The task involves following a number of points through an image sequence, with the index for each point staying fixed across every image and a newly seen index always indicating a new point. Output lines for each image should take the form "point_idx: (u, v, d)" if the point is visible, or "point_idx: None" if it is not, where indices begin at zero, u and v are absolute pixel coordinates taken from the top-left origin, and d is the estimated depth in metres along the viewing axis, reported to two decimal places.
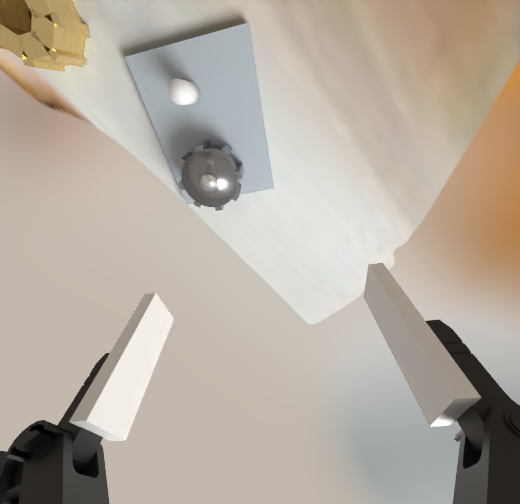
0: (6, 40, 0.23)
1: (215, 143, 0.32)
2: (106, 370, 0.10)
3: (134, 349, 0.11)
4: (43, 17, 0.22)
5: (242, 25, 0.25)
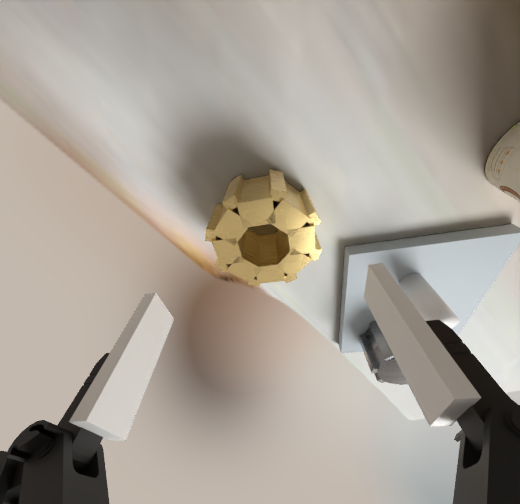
0: (240, 269, 0.18)
1: None
2: (106, 370, 0.10)
3: (134, 349, 0.11)
4: (302, 255, 0.17)
5: (517, 234, 0.20)
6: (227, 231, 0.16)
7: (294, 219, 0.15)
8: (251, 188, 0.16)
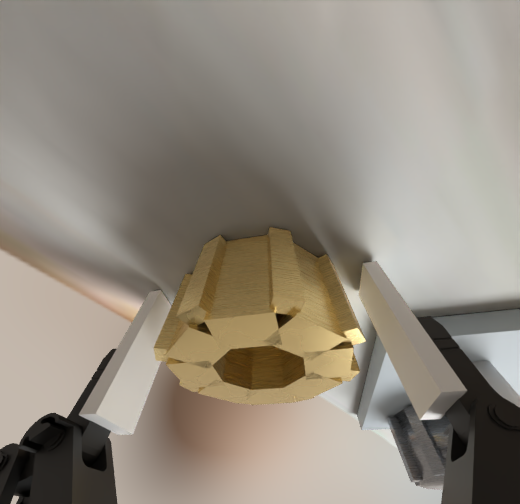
0: (221, 391, 0.11)
1: None
2: (114, 365, 0.10)
3: (141, 345, 0.11)
4: (326, 379, 0.10)
5: None
6: (192, 353, 0.09)
7: (317, 340, 0.08)
8: (236, 270, 0.09)
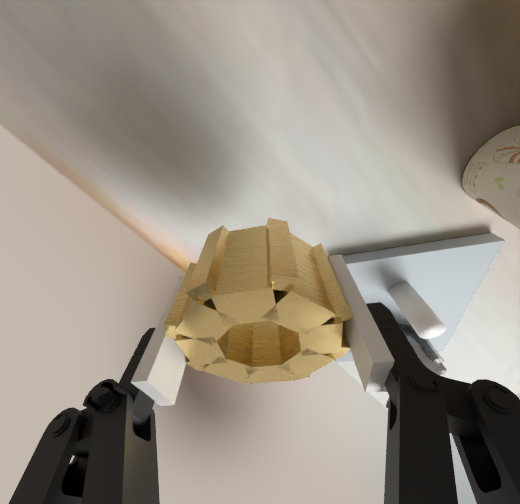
0: (224, 369, 0.12)
1: (400, 322, 0.28)
2: (156, 340, 0.10)
3: None
4: (320, 355, 0.11)
5: (496, 242, 0.21)
6: (198, 329, 0.10)
7: (310, 315, 0.09)
8: (238, 255, 0.10)
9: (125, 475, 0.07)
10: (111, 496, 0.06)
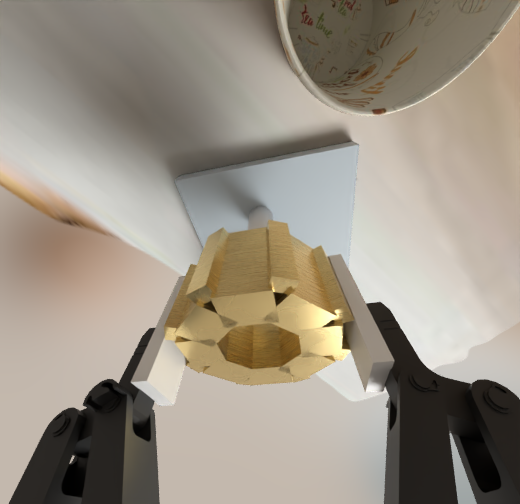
0: (224, 371, 0.12)
1: None
2: (156, 340, 0.10)
3: None
4: (320, 357, 0.11)
5: (349, 148, 0.17)
6: (198, 331, 0.10)
7: (310, 317, 0.09)
8: (238, 257, 0.10)
9: (125, 475, 0.07)
10: (111, 496, 0.06)
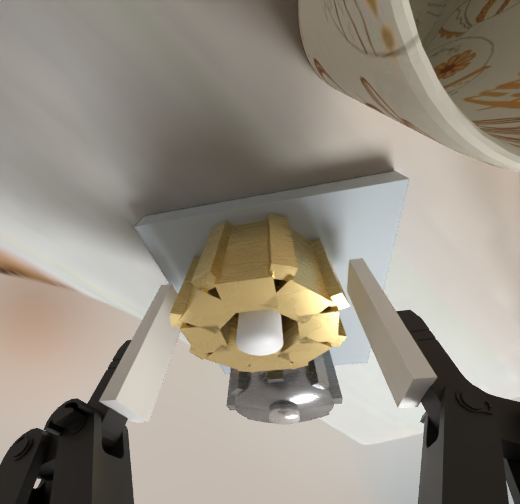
0: (226, 357, 0.13)
1: None
2: (130, 354, 0.10)
3: (154, 336, 0.11)
4: (318, 343, 0.11)
5: (394, 183, 0.11)
6: (203, 317, 0.10)
7: (308, 304, 0.10)
8: (240, 247, 0.11)
9: (94, 495, 0.07)
10: None
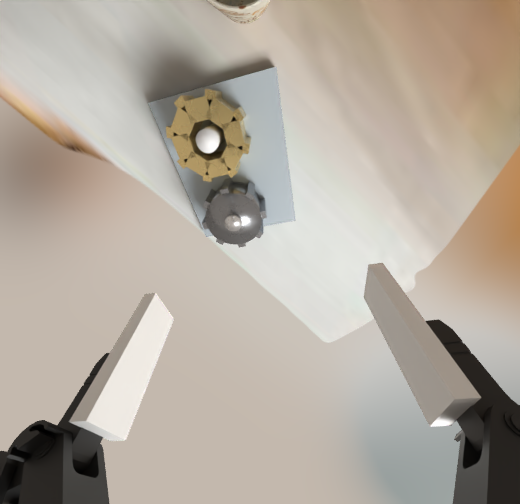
0: (195, 164, 0.25)
1: (237, 180, 0.32)
2: (106, 370, 0.10)
3: (134, 349, 0.11)
4: (236, 148, 0.24)
5: (269, 69, 0.24)
6: (180, 127, 0.23)
7: (224, 114, 0.22)
8: None
9: None
10: None
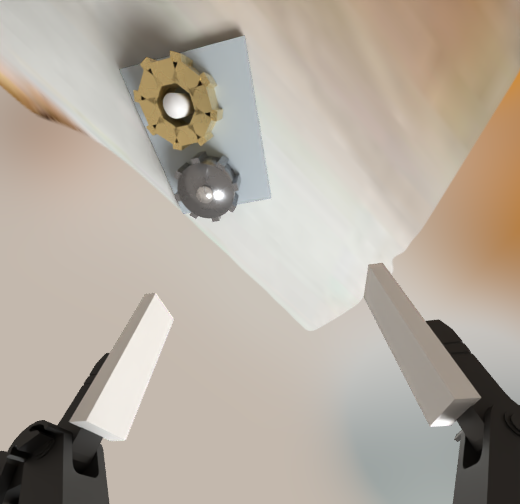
0: (164, 131, 0.26)
1: (212, 154, 0.32)
2: (106, 370, 0.10)
3: (134, 349, 0.11)
4: (204, 114, 0.25)
5: (238, 38, 0.24)
6: (147, 90, 0.23)
7: (190, 78, 0.23)
8: None
9: None
10: None
